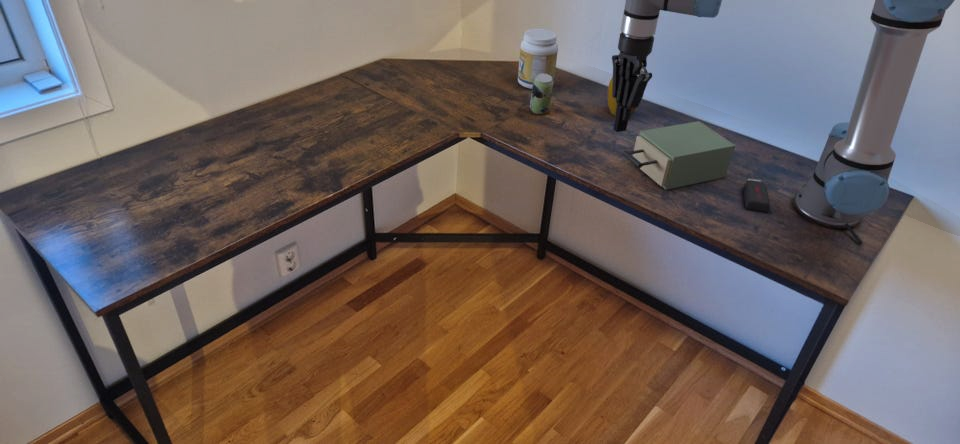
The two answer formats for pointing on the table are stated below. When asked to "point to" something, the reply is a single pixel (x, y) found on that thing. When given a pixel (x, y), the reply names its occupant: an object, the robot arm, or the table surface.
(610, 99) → the apple
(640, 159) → the drawer
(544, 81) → the beverage can
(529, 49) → the supplement tub
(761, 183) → the usb drive
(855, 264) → the table surface
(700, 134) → the cabinet
